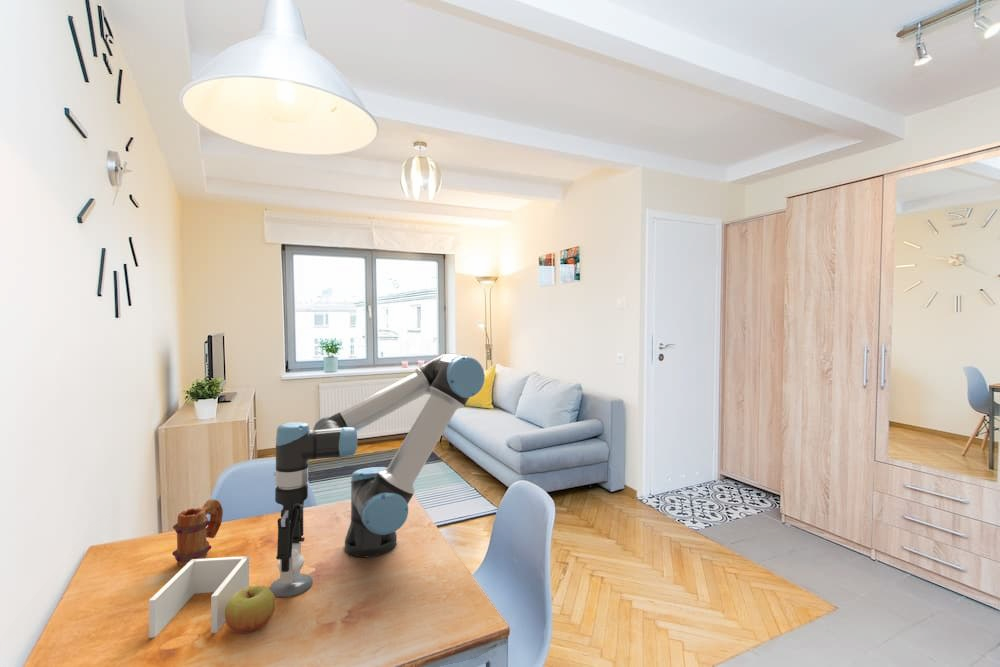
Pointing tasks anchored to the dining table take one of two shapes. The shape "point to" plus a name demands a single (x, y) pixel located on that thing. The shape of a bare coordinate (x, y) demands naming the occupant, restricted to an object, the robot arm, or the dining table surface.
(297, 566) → the white rounded ribbed piece
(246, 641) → the dining table surface
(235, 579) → the cubby
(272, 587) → the coaster
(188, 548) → the mug
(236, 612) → the apple
